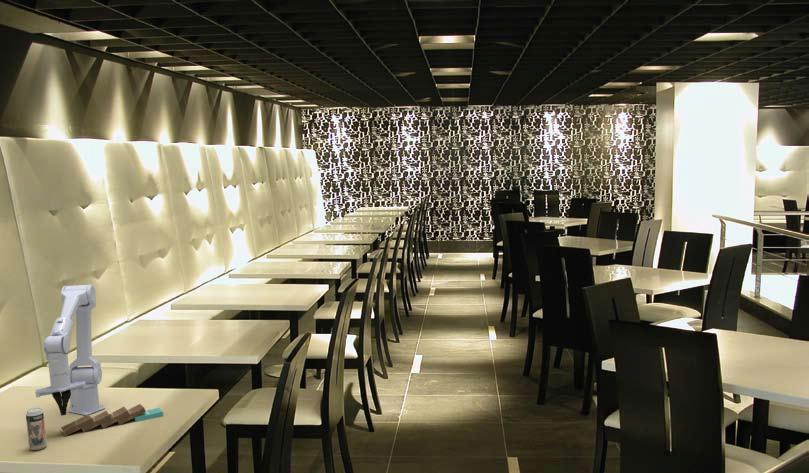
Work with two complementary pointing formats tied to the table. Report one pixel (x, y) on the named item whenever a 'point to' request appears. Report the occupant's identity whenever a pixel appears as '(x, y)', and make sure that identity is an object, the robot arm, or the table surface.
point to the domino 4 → (132, 413)
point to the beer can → (36, 429)
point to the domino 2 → (97, 420)
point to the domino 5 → (149, 415)
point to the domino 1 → (76, 425)
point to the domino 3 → (116, 417)
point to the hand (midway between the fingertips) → (63, 414)
